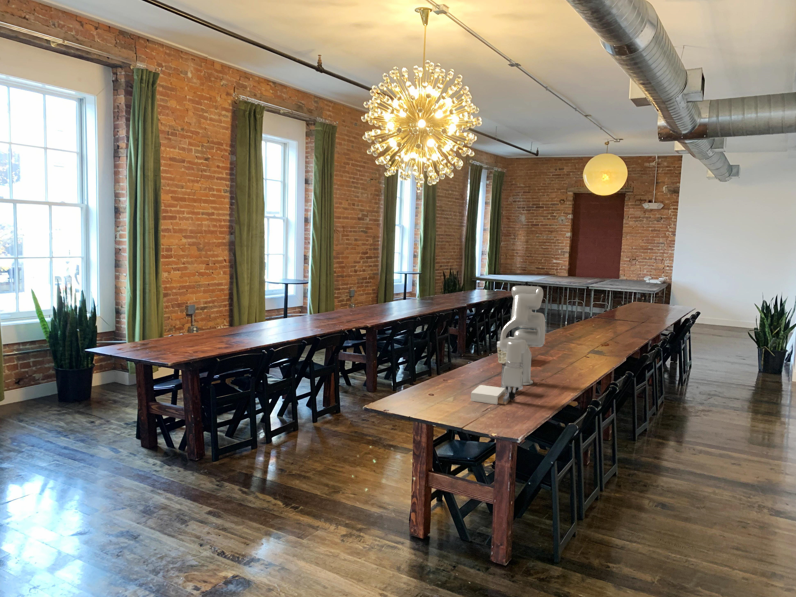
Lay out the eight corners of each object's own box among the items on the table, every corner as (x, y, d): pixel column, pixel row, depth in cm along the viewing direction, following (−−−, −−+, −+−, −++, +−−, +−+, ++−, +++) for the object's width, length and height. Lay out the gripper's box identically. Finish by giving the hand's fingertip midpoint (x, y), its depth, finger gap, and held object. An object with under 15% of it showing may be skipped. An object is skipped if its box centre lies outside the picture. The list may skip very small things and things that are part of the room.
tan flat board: (479, 394, 316) (480, 389, 316) (510, 398, 309) (511, 393, 309) (474, 399, 306) (474, 394, 306) (506, 404, 299) (506, 398, 299)
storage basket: (517, 366, 386) (518, 344, 384) (495, 362, 395) (495, 341, 393) (530, 360, 406) (531, 339, 404) (508, 356, 415) (509, 336, 413)
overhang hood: (479, 392, 319) (480, 384, 319) (504, 396, 314) (505, 388, 313) (470, 400, 304) (471, 392, 303) (497, 404, 298) (497, 395, 298)
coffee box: (508, 388, 329) (509, 360, 327) (518, 391, 325) (519, 362, 323) (500, 392, 322) (501, 363, 320) (510, 394, 318) (511, 365, 316)
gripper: (529, 365, 302) (527, 399, 304) (500, 362, 308) (499, 395, 310) (526, 367, 295) (524, 403, 297) (497, 364, 301) (496, 399, 303)
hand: (511, 399), depth 303 cm, fingers closed
